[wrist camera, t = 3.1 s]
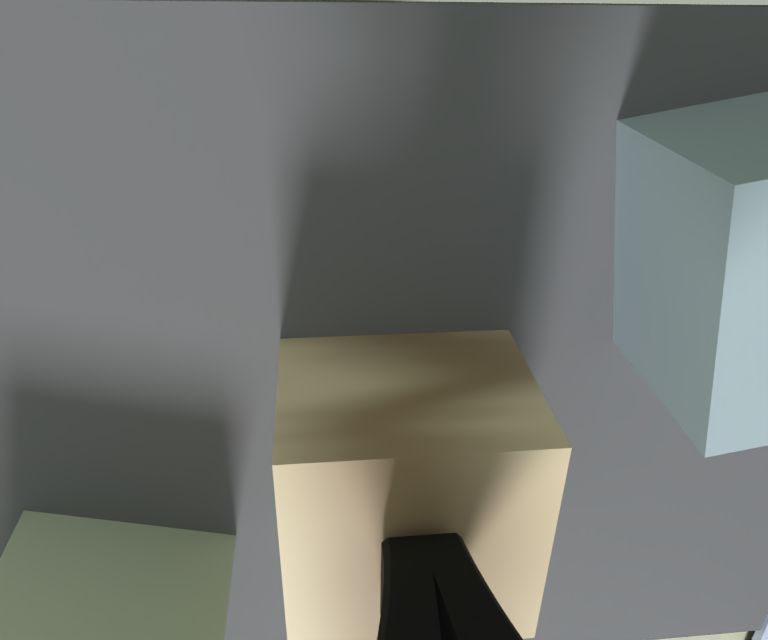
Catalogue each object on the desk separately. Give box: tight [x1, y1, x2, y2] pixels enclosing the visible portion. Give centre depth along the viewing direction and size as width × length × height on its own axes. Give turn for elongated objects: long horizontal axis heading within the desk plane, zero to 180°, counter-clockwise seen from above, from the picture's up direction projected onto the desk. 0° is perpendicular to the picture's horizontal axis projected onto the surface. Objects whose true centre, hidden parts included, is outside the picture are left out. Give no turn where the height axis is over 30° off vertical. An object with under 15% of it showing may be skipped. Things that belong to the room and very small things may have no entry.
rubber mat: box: [0, 0, 768, 640], centre depth 16 cm, size 24×18×1 cm
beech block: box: [272, 330, 572, 640], centre depth 14 cm, size 5×5×4 cm
